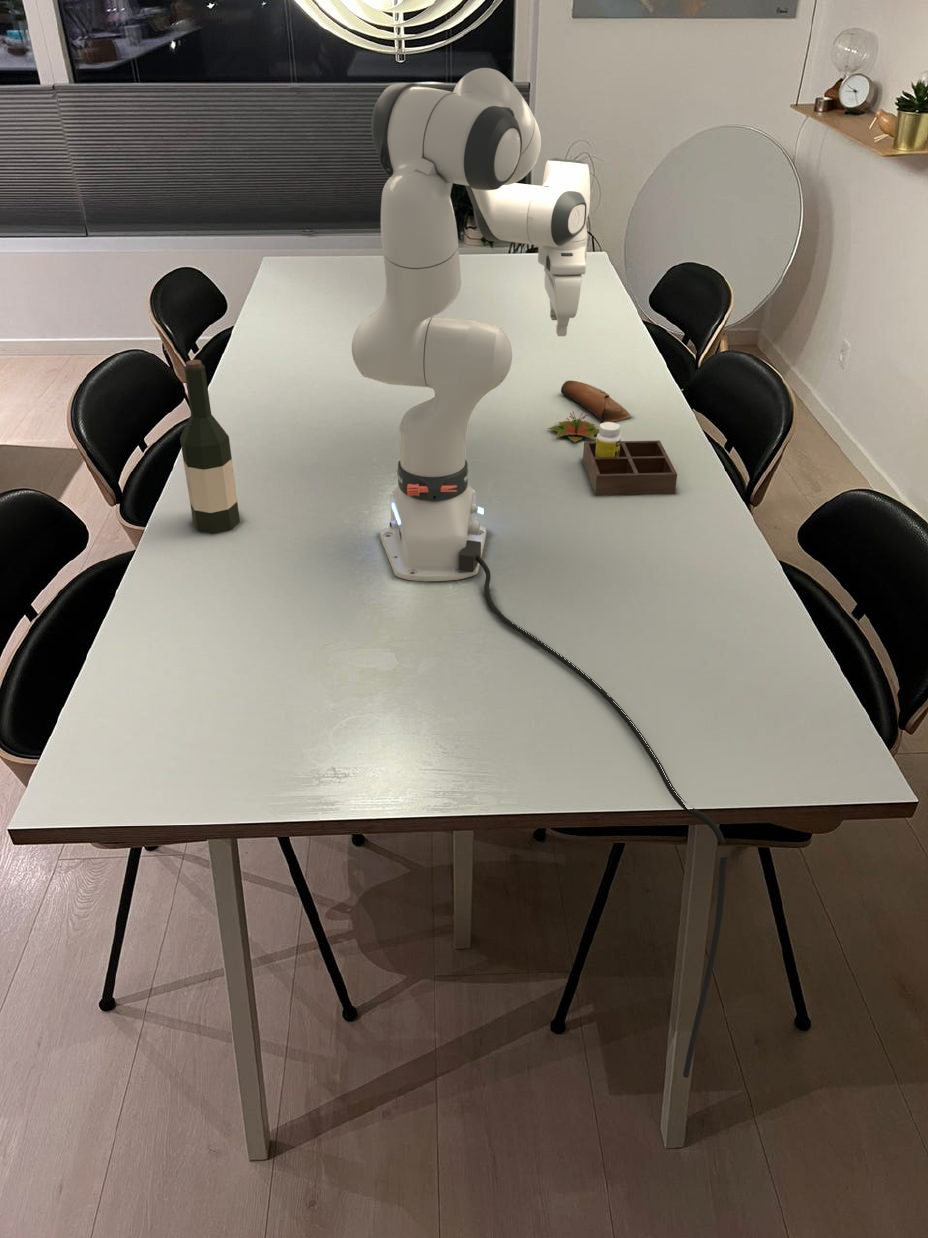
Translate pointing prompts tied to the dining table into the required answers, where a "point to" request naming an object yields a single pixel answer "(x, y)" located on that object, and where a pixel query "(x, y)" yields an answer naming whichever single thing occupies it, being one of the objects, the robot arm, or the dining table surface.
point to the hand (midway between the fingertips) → (558, 326)
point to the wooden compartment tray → (631, 469)
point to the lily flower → (576, 429)
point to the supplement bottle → (608, 440)
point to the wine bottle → (207, 460)
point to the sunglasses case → (595, 401)
